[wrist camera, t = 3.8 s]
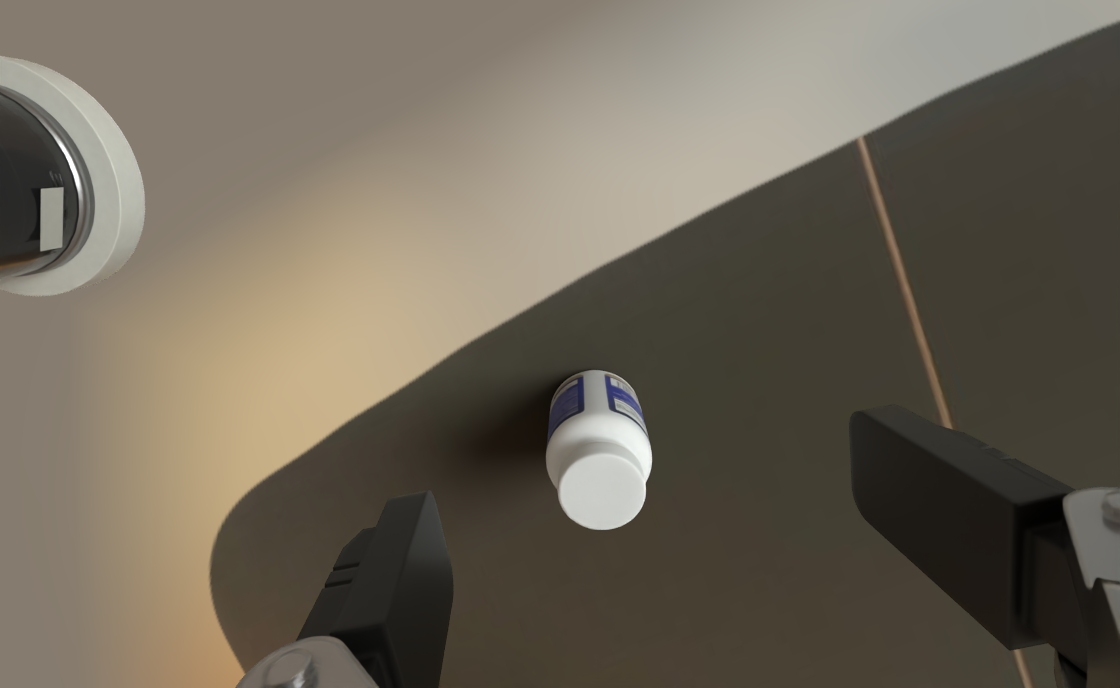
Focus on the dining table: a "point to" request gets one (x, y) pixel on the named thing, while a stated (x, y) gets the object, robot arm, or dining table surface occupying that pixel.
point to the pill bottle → (598, 450)
